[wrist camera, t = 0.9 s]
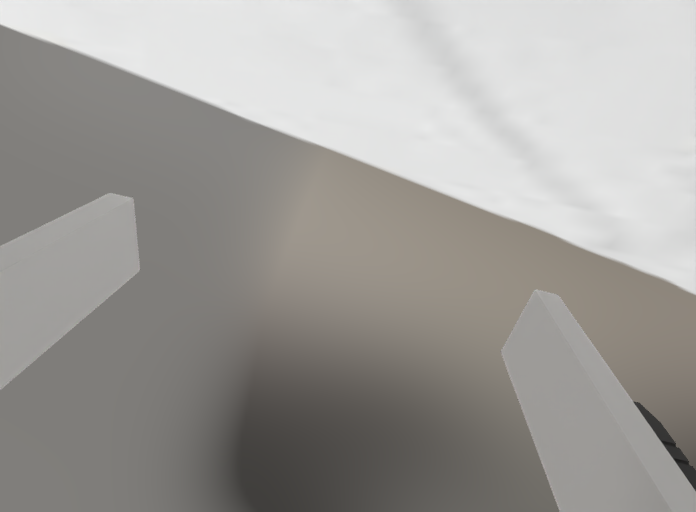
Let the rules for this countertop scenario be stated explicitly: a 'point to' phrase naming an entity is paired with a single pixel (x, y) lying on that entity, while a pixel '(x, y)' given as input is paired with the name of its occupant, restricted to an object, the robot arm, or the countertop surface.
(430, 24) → the countertop surface
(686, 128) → the countertop surface
